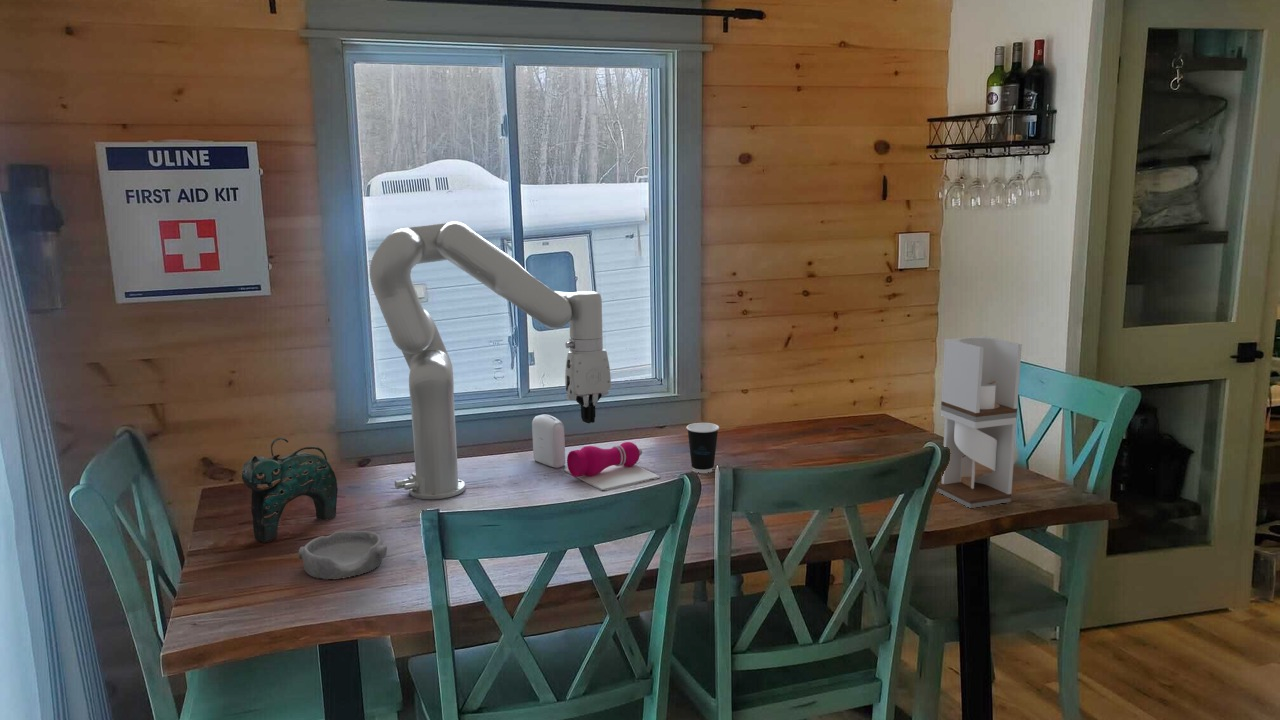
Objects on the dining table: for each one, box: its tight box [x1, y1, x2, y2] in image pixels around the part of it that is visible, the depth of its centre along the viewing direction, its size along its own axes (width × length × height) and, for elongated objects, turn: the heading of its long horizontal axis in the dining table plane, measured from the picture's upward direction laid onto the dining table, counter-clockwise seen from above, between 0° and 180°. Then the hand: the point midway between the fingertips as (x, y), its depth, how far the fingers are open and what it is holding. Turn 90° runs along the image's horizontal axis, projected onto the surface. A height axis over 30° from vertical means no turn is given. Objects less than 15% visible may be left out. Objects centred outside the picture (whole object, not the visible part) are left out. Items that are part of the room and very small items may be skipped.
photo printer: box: [531, 414, 566, 469], centre depth 231 cm, size 10×4×12 cm, turn 39°
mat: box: [564, 464, 661, 491], centre depth 222 cm, size 16×18×1 cm
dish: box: [298, 530, 388, 580], centre depth 171 cm, size 14×14×5 cm
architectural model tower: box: [936, 335, 1023, 509], centre depth 200 cm, size 11×11×35 cm
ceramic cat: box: [241, 437, 339, 544], centre depth 188 cm, size 20×6×20 cm, turn 145°
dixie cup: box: [685, 422, 720, 474], centre depth 224 cm, size 8×8×11 cm
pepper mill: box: [566, 441, 643, 478], centre depth 223 cm, size 7×7×20 cm
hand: (588, 421), depth 216 cm, fingers closed
